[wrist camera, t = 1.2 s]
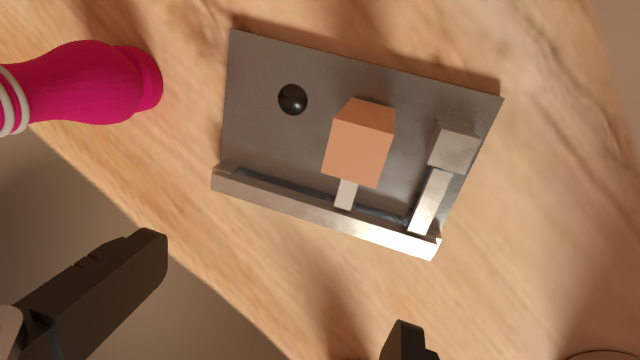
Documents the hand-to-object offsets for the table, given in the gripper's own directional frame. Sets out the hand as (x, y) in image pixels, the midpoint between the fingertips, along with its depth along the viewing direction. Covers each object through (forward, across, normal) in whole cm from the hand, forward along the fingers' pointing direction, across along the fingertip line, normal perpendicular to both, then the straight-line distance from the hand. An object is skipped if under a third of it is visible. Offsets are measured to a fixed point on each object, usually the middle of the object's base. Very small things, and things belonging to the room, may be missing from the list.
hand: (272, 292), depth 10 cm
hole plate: (+20, +1, +2) cm, 21 cm away
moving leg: (+19, -1, +1) cm, 19 cm away
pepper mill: (+21, +23, +1) cm, 31 cm away
